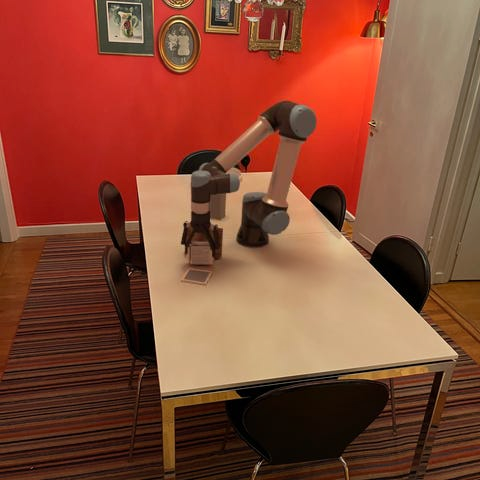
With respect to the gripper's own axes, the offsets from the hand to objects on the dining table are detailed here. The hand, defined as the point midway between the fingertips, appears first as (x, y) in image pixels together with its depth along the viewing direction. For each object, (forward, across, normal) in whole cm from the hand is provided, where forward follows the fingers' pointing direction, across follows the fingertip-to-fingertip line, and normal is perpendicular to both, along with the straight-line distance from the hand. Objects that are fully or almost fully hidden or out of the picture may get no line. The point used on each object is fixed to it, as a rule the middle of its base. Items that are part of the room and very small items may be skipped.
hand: (200, 261), depth 193 cm
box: (+1, 0, 0) cm, 1 cm away
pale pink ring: (+3, +20, -118) cm, 119 cm away
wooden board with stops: (+2, +2, -10) cm, 10 cm away
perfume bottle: (+2, +6, -54) cm, 54 cm away
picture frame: (+1, -2, +10) cm, 11 cm away
